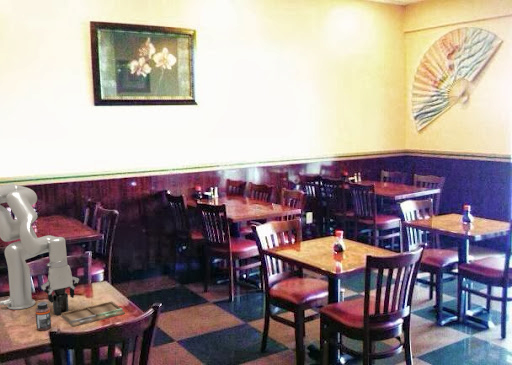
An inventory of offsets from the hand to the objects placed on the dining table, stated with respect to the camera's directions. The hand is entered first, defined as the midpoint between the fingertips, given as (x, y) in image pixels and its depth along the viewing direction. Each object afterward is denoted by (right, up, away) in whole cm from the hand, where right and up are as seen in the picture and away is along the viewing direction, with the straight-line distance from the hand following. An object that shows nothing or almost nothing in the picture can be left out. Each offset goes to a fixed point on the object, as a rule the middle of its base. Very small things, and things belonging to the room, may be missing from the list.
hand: (61, 299), depth 252 cm
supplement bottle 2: (-1, -7, +1) cm, 7 cm away
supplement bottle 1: (-2, -9, -17) cm, 19 cm away
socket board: (+16, -7, -3) cm, 17 cm away
